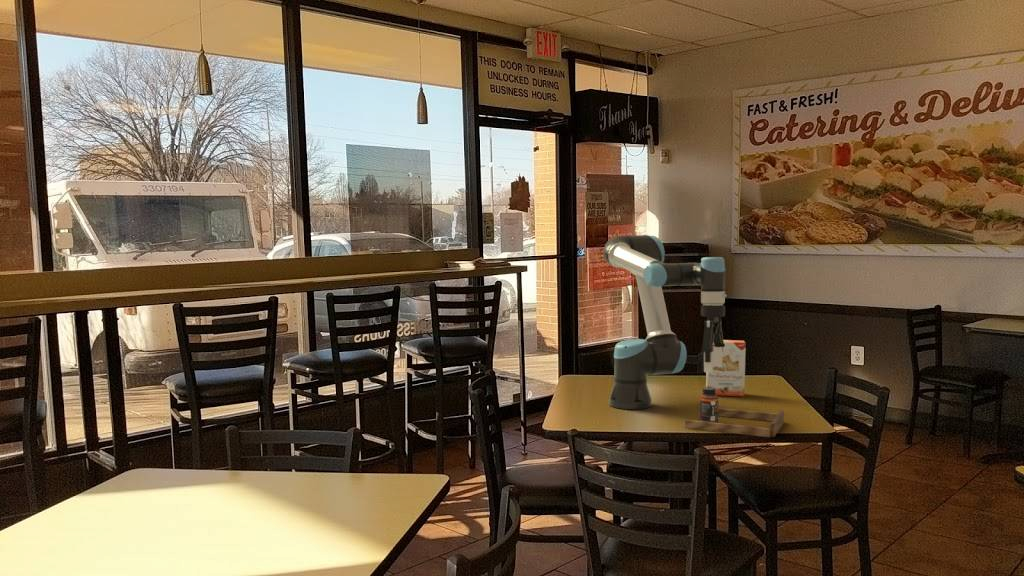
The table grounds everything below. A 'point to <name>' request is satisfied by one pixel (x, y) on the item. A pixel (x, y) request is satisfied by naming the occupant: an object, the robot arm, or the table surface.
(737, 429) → the bay
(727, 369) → the cracker box
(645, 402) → the robot arm
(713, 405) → the supplement bottle
